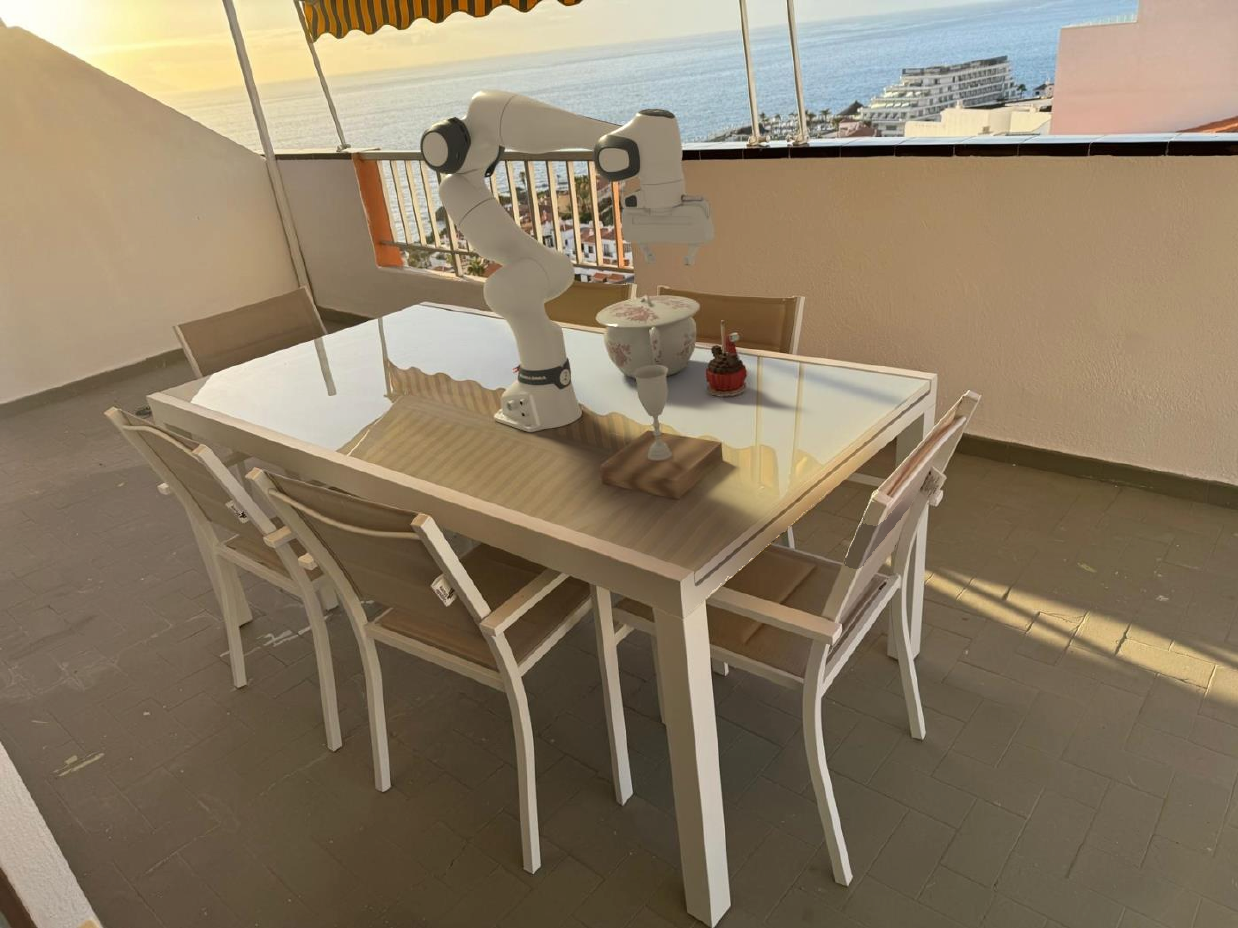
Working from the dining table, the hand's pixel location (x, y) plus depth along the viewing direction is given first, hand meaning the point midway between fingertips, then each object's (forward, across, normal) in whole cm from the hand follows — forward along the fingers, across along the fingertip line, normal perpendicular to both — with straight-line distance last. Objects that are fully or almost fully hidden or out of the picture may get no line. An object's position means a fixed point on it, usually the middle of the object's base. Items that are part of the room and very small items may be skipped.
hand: (670, 264), depth 175 cm
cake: (+37, +1, -22) cm, 43 cm away
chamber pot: (+37, +27, -29) cm, 54 cm away
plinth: (+37, -7, +21) cm, 43 cm away
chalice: (+33, -7, +22) cm, 40 cm away
